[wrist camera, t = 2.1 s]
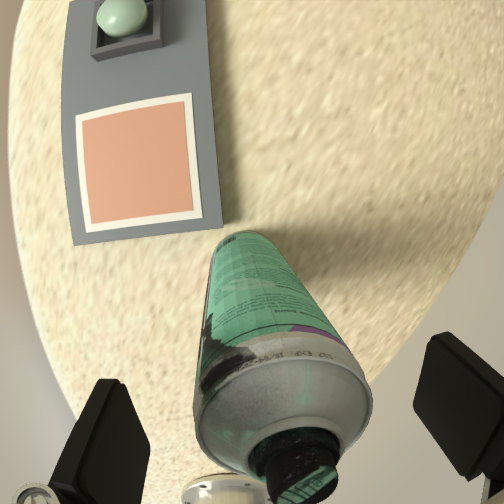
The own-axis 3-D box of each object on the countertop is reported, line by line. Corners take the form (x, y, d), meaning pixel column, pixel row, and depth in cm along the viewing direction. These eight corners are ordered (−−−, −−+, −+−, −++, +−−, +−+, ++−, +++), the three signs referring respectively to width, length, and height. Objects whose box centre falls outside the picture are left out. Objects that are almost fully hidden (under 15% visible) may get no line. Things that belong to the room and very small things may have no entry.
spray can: (201, 285, 25) (167, 525, 6) (223, 221, 24) (226, 395, 5) (265, 305, 26) (341, 533, 6) (289, 243, 25) (450, 419, 5)
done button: (148, 32, 17) (143, 23, 16) (102, 43, 17) (94, 35, 16) (149, -4, 16) (144, -14, 15) (104, 7, 16) (98, -2, 15)
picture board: (223, 224, 24) (223, 231, 21) (81, 242, 23) (65, 250, 20) (204, -20, 19) (203, -40, 16) (75, 8, 18) (62, -6, 15)
